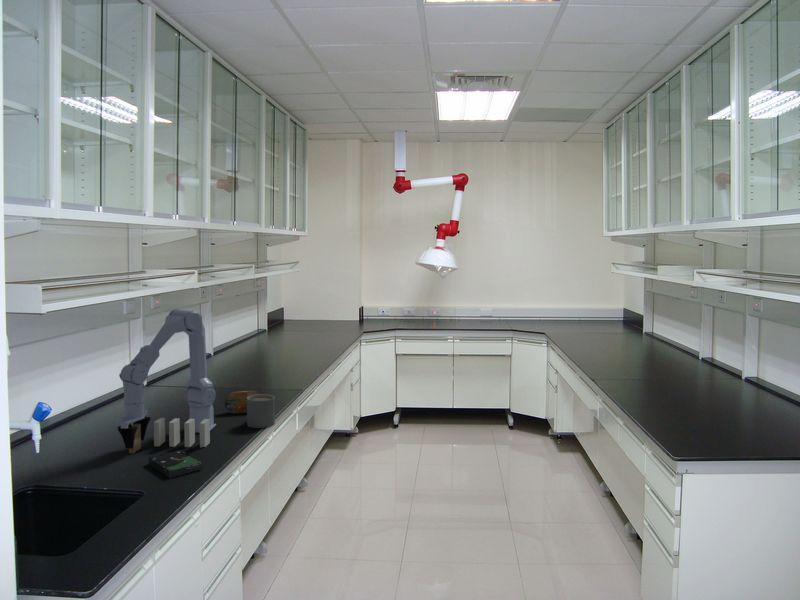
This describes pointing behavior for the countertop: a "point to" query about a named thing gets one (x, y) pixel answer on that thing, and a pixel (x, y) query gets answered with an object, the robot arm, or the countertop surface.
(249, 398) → the coffee mug
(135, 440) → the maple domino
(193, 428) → the domino
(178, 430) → the domino
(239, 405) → the tin
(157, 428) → the domino
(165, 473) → the disk drive
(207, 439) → the domino
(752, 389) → the countertop surface
